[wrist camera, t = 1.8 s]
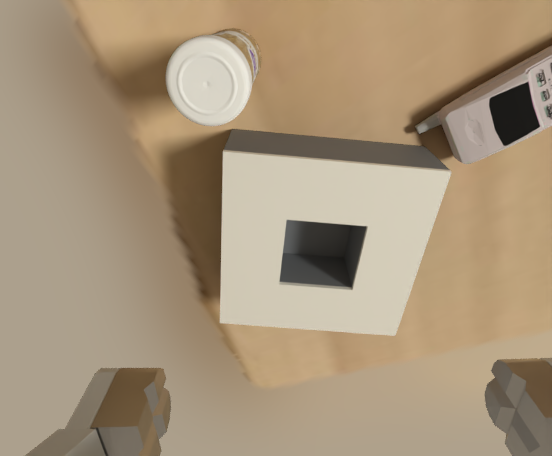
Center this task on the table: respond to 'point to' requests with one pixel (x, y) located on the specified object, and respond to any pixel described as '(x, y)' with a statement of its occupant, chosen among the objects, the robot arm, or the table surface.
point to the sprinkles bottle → (213, 76)
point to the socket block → (324, 230)
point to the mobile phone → (498, 110)
